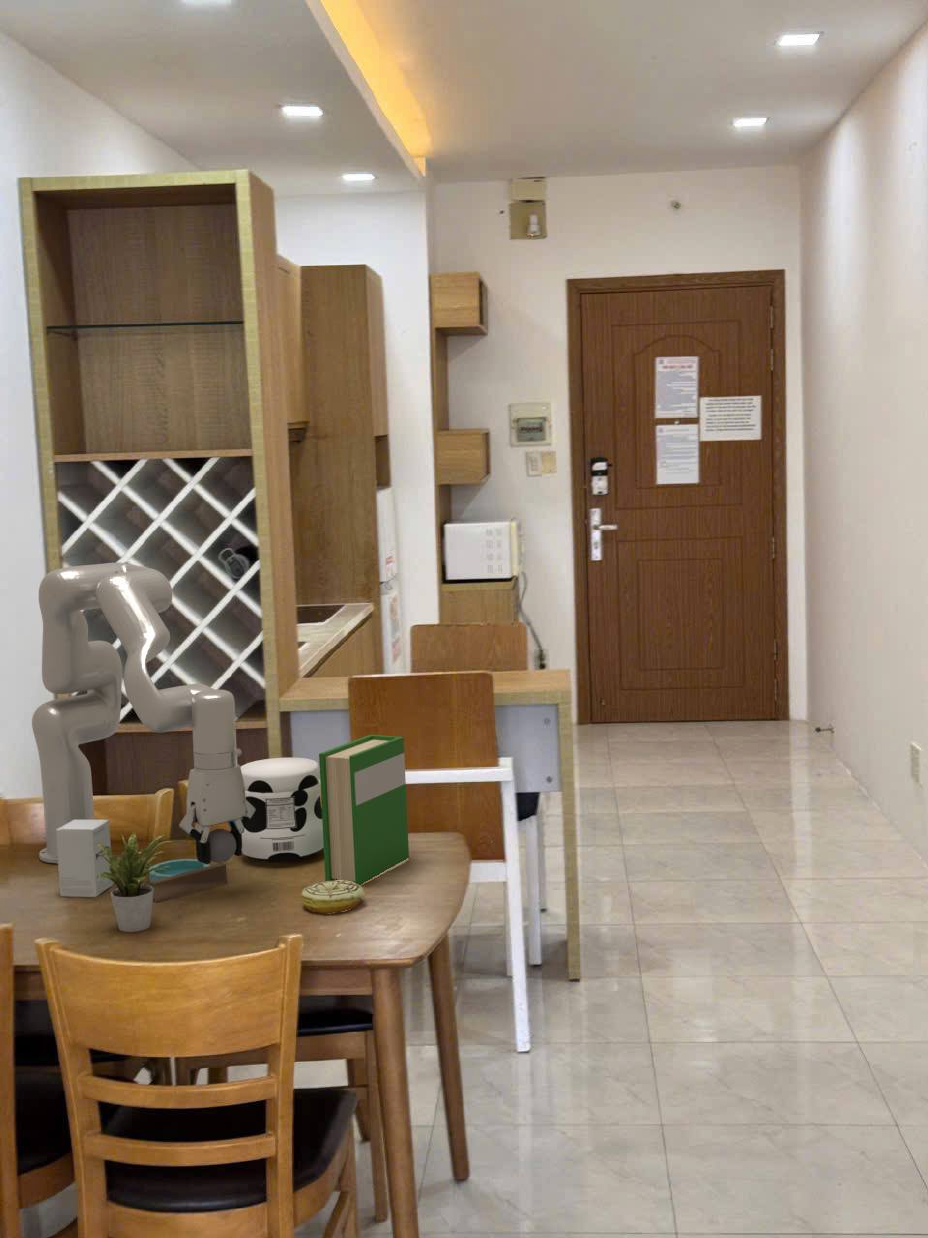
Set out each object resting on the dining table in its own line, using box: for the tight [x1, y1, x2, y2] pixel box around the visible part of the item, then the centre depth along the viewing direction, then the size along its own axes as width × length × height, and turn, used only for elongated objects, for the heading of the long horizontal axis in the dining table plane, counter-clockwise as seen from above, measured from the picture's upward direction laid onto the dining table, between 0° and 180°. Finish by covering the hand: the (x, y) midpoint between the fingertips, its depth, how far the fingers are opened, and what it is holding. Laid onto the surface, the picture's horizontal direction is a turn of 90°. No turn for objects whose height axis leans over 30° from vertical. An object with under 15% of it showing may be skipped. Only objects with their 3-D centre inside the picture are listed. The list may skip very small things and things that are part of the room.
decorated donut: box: [301, 879, 366, 914], centre depth 251 cm, size 10×11×4 cm
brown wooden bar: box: [149, 862, 228, 904], centre depth 262 cm, size 2×15×4 cm, turn 133°
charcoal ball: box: [207, 828, 236, 864], centre depth 259 cm, size 6×6×6 cm
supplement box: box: [56, 819, 114, 898], centre depth 265 cm, size 7×7×13 cm
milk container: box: [240, 757, 324, 864], centre depth 282 cm, size 17×17×18 cm
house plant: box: [94, 829, 173, 933], centre depth 242 cm, size 14×14×16 cm
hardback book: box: [318, 734, 410, 885], centre depth 269 cm, size 18×7×24 cm, turn 152°
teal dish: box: [148, 858, 210, 883], centre depth 270 cm, size 11×11×2 cm
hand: (219, 857), depth 259 cm, fingers closed on charcoal ball, 5 cm apart
